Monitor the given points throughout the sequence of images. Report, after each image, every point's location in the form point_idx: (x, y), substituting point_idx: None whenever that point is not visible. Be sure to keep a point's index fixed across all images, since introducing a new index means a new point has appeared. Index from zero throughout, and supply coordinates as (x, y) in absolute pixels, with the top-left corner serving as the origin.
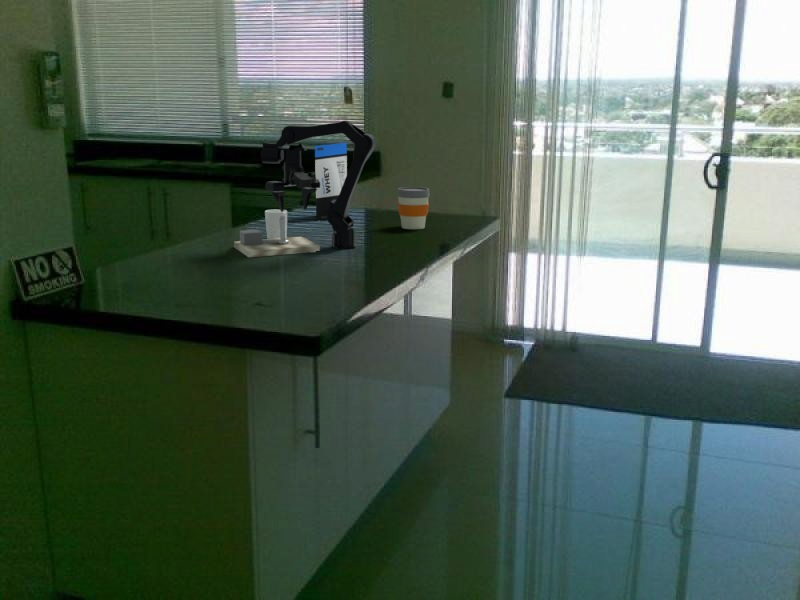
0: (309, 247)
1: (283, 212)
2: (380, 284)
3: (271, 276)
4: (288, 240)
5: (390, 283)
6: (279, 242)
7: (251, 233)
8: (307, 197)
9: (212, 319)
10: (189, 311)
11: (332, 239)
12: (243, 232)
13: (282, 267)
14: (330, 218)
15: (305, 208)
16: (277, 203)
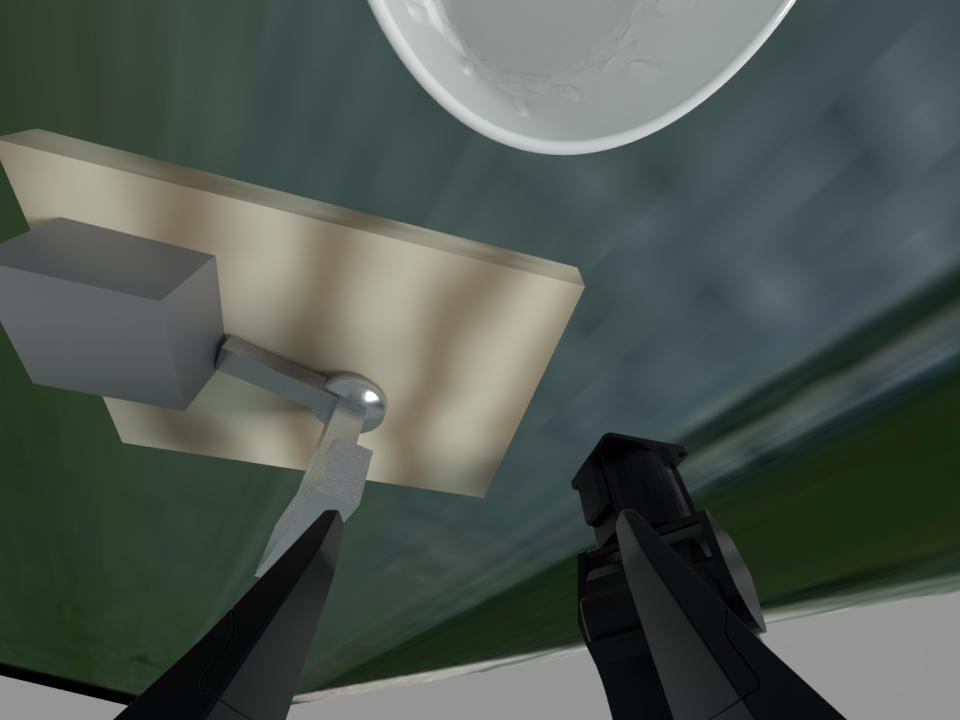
0: (437, 486)
1: (591, 151)
2: (396, 665)
3: (196, 589)
4: (376, 425)
5: (415, 667)
6: (320, 414)
7: (98, 393)
8: (665, 690)
9: (58, 669)
10: (6, 648)
11: (590, 485)
12: (22, 345)
13: (250, 553)
14: (579, 620)
15: (617, 533)
16: (256, 587)
